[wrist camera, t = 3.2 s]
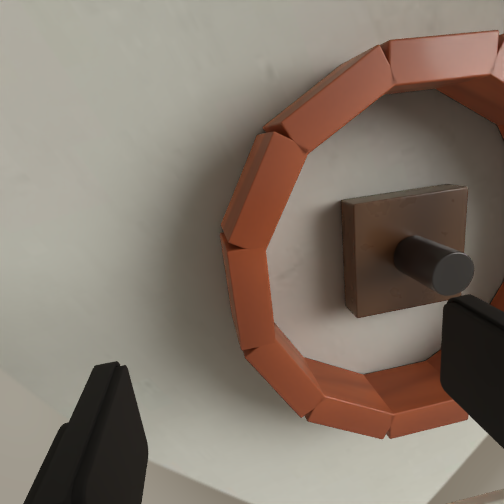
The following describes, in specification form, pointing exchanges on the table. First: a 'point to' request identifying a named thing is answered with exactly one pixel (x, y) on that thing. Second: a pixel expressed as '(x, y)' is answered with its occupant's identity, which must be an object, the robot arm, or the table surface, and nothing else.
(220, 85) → the table surface
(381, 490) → the table surface
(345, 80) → the hoop
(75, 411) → the robot arm
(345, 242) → the post
